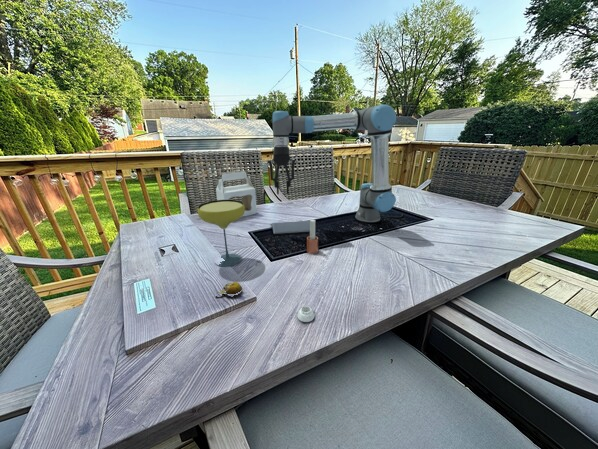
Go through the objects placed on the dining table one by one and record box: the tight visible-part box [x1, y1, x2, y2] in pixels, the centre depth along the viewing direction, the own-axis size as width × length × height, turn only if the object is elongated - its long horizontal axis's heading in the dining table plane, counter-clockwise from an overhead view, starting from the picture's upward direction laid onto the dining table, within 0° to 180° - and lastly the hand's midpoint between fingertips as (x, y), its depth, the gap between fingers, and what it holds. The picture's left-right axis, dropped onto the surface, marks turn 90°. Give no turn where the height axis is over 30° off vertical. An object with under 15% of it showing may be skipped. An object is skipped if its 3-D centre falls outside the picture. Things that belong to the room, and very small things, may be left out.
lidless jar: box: [297, 305, 315, 323], centre depth 74 cm, size 5×3×5 cm
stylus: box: [309, 219, 316, 240], centre depth 112 cm, size 2×2×15 cm
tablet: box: [271, 220, 310, 236], centre depth 142 cm, size 23×17×1 cm
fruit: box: [217, 281, 243, 299], centre depth 85 cm, size 8×8×4 cm
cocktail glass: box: [197, 199, 245, 268], centre depth 103 cm, size 18×18×25 cm
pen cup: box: [306, 235, 319, 254], centre depth 113 cm, size 5×5×7 cm
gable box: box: [215, 171, 258, 218], centre depth 162 cm, size 22×13×28 cm, turn 127°
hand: (282, 193), depth 127 cm, fingers open, 4 cm apart
